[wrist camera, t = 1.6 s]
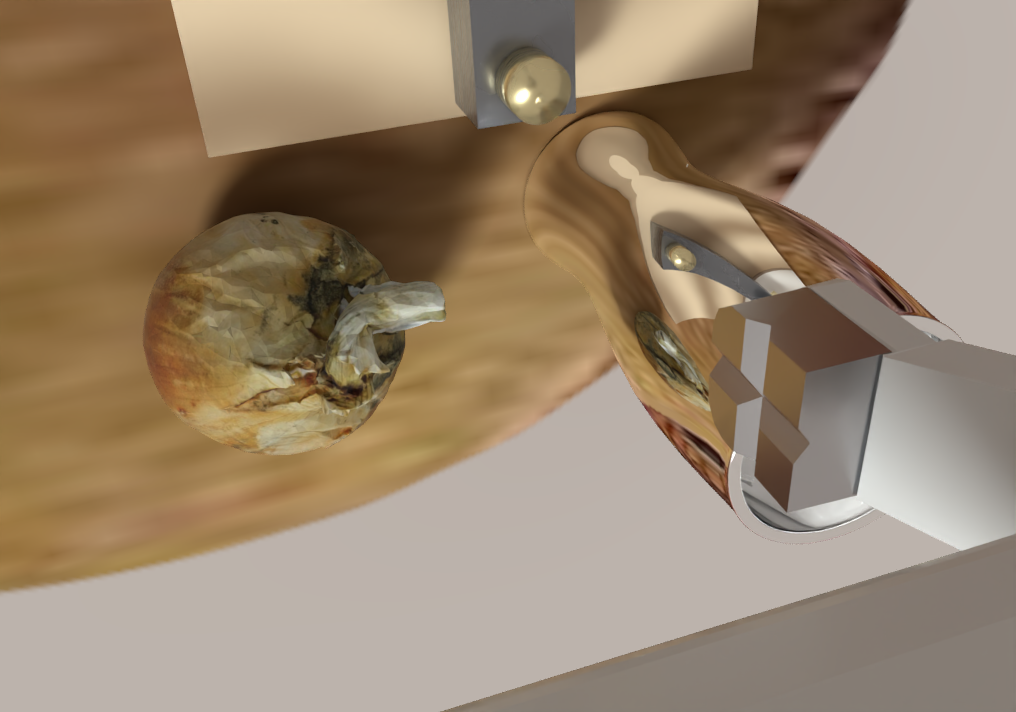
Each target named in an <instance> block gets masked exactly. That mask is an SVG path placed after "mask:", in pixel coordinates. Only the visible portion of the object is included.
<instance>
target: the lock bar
mask: <svg viewBox="0 0 1016 712" xmlns="http://www.w3.org/2000/svg"><path fill="white" fill-rule="evenodd" d="M447 6H448V18H449V31H450V43H451V55H452V67H453V79H454V92H455V103H456V104H457V105H458V107H459V108H460V109H461V110H462V111H463V112H464V113H465V115H466V116H467V117H468V118H469V119H470V120H471V121H472V123H473V124H474V125H475V126H476V127H477V128H478V129H481V128H487V127H493V126H499V125H505V124H511V123H517V122H523V121H524V122H526V123H528V124H533V125H540V124H545V123H548V122H550V121H552V120H554V119H555V118H557V117H558V116H559V115H565V114H571V113H576V78H575V0H447Z"/></svg>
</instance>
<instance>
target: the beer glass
mask: <svg viewBox="0 0 1016 712" xmlns="http://www.w3.org/2000/svg"><path fill="white" fill-rule="evenodd" d="M524 215H525V220H526V225H527V228H528V231H529V234H530V236H531V238H532V240H533V242H534V243H535V245H536V246H537V248H538V249H539V250H540V251H541V252H542V253H543V254H544V255H545V256H546V257H547V258H548V259H550V260H551V261H552V262H554V263H555V264H557V265H558V266H560V267H561V268H563V269H565V270H566V271H568V272H569V273H571V274H572V275H574V276H575V277H576V278H577V279H578V280H579V281H580V282H581V283H582V285H583V286H584V288H585V289H586V291H587V292H588V295H589V297H590V299H591V301H592V303H593V305H594V307H595V310H596V312H597V315H598V317H599V320H600V322H601V324H602V327H603V329H604V332H605V334H606V336H607V338H608V341H609V343H610V345H611V348H612V350H613V352H614V355H615V357H616V359H617V361H618V363H619V365H620V367H621V369H622V371H623V372H624V374H625V376H626V378H627V380H628V382H629V384H630V386H631V388H632V390H633V391H634V393H635V395H636V396H637V397H638V399H639V400H640V402H641V403H642V405H643V406H644V408H645V409H646V411H647V412H648V413H649V415H650V416H651V418H652V419H653V421H654V422H655V424H656V425H657V426H658V427H659V429H660V430H661V431H662V432H663V434H664V435H665V436H666V437H667V438H668V440H669V441H670V442H671V443H672V445H673V446H674V447H675V448H676V449H677V451H678V452H679V453H680V454H681V455H682V456H683V458H684V459H685V460H686V461H687V462H688V463H689V464H690V465H691V466H692V467H693V468H694V470H695V471H696V472H698V474H699V475H700V476H701V477H702V478H703V479H704V480H705V481H706V482H707V483H708V484H709V486H710V487H711V488H712V489H713V490H715V492H716V493H717V494H718V495H719V496H720V497H721V498H722V499H723V500H724V501H725V502H726V503H727V504H728V505H729V506H730V507H731V509H732V510H733V511H734V512H735V513H736V515H737V517H738V518H739V519H740V521H741V522H742V523H743V524H744V525H745V526H746V527H747V528H748V529H750V530H751V531H752V532H754V533H755V534H757V535H759V536H761V537H763V538H765V539H768V540H771V541H775V542H780V543H787V544H808V543H816V542H821V541H826V540H830V539H833V538H837V537H840V536H843V535H845V534H848V533H851V532H853V531H855V530H857V529H860V528H862V527H864V526H866V525H868V524H870V523H871V522H873V521H875V520H877V519H878V518H880V517H881V516H883V515H885V513H883V512H881V511H879V510H877V509H875V508H873V507H871V506H869V505H867V504H865V503H863V502H861V501H859V500H857V499H856V497H857V496H853V497H849V498H845V499H841V500H837V501H833V502H829V503H825V504H821V505H817V506H813V507H809V508H805V509H801V510H797V511H793V512H789V513H786V511H785V510H784V509H783V508H782V507H781V506H780V505H779V503H778V502H777V501H776V500H775V499H774V498H773V497H772V496H771V494H770V493H769V492H768V491H767V490H766V489H765V488H764V487H763V485H762V484H761V483H760V482H759V481H758V480H757V479H756V477H755V476H754V473H755V463H756V460H753V459H750V458H748V457H745V456H743V455H740V454H737V453H735V452H733V451H732V450H731V449H730V447H729V446H728V445H727V444H726V443H725V441H724V440H723V439H722V437H721V436H720V434H719V432H718V430H717V428H716V426H715V424H714V421H713V417H712V413H711V409H710V405H709V401H708V396H709V375H710V373H711V372H712V370H713V369H714V367H715V366H716V364H717V363H718V361H719V360H720V359H721V357H722V356H723V355H722V354H721V353H720V351H719V350H718V349H717V348H716V347H715V345H714V344H713V343H712V331H713V322H714V319H715V317H716V314H717V312H718V309H719V308H723V307H727V306H731V305H735V304H739V303H743V302H748V301H752V300H756V299H760V298H764V297H768V296H772V295H776V294H780V293H784V292H788V291H793V290H797V289H799V288H802V287H806V286H810V285H814V284H817V283H821V282H825V281H829V280H833V279H837V278H839V279H844V280H850V281H851V282H853V283H854V284H856V285H857V286H858V287H860V288H861V289H863V290H864V291H866V292H867V293H868V294H870V295H871V296H873V297H874V298H875V299H877V300H878V301H880V302H881V303H882V304H884V305H885V306H887V307H888V308H889V309H891V310H892V311H894V312H895V313H897V314H898V315H899V316H901V317H902V318H904V319H905V320H906V321H908V322H909V323H911V324H912V325H913V326H915V327H916V328H918V329H919V330H920V331H922V332H923V333H925V334H926V335H928V336H929V337H930V338H932V339H933V340H935V341H936V342H939V341H943V340H947V339H950V340H954V341H958V342H962V343H964V342H963V341H962V339H961V338H960V337H959V336H958V334H956V332H955V331H953V330H952V329H951V328H950V327H948V326H947V325H945V324H943V323H942V322H940V321H939V320H938V319H937V318H935V316H933V315H932V314H931V313H930V312H929V311H928V310H927V309H926V308H924V307H923V306H922V305H921V304H920V303H919V302H918V301H917V300H916V299H915V298H914V297H913V296H912V295H910V294H909V293H908V292H907V291H906V290H905V289H904V288H903V287H901V286H900V285H899V284H898V283H897V282H896V281H895V280H894V279H892V278H891V277H890V276H889V275H888V274H887V273H885V272H884V271H883V270H882V269H881V268H880V267H878V266H877V265H876V264H875V263H873V262H872V261H871V260H870V259H868V258H867V257H866V256H864V255H863V254H862V253H861V252H859V251H858V250H857V249H855V248H854V247H853V246H852V245H850V244H849V243H848V242H846V241H845V240H843V239H842V238H840V237H838V236H837V235H835V234H834V233H832V232H831V231H829V230H828V229H826V228H824V227H823V226H821V225H820V224H818V223H817V222H815V221H814V220H812V219H810V218H808V217H806V216H804V215H802V214H800V213H798V212H796V211H794V210H792V209H790V208H788V207H786V206H783V205H781V204H779V203H777V202H775V201H773V200H770V199H768V198H765V197H763V196H760V195H758V194H755V193H752V192H750V191H747V190H745V189H742V188H739V187H737V186H734V185H731V184H729V183H726V182H723V181H720V180H718V179H716V178H713V177H711V176H709V175H706V174H704V173H702V172H700V171H699V170H697V169H696V168H694V167H693V166H692V165H691V164H690V163H689V161H688V160H687V158H686V157H685V155H684V154H683V152H682V151H681V149H680V148H679V147H678V145H677V144H676V142H675V141H674V140H673V138H672V137H671V136H670V135H669V134H668V133H667V132H666V131H665V130H664V129H663V128H662V127H661V126H660V125H659V124H657V123H656V122H655V121H653V120H651V119H649V118H648V117H645V116H643V115H640V114H637V113H633V112H628V111H607V112H601V113H597V114H593V115H590V116H587V117H585V118H582V119H580V120H578V121H576V122H575V123H573V124H571V125H570V126H568V127H567V128H565V129H564V130H563V131H561V132H560V133H559V134H558V135H557V136H556V137H555V138H553V140H552V141H551V142H550V143H549V144H548V145H547V146H546V147H545V149H544V150H543V151H542V153H541V154H540V156H539V157H538V159H537V160H536V162H535V164H534V166H533V168H532V170H531V173H530V175H529V178H528V181H527V185H526V189H525V196H524Z"/></svg>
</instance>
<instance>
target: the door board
mask: <svg viewBox="0 0 1016 712" xmlns="http://www.w3.org/2000/svg"><path fill="white" fill-rule="evenodd" d="M171 2H172V6H173V10H174V15H175V19H176V23H177V27H178V31H179V36H180V40H181V44H182V48H183V52H184V57H185V61H186V65H187V69H188V74H189V78H190V82H191V86H192V90H193V95H194V99H195V103H196V107H197V111H198V116H199V120H200V124H201V128H202V132H203V137H204V141H205V145H206V149H207V153H208V158H209V157H215V156H221V155H227V154H234V153H240V152H246V151H252V150H258V149H264V148H271V147H277V146H283V145H289V144H295V143H301V142H307V141H314V140H320V139H326V138H332V137H338V136H344V135H351V134H357V133H363V132H369V131H375V130H381V129H387V128H394V127H400V126H406V125H412V124H418V123H424V122H431V121H437V120H443V119H449V118H455V117H461V116H466V115H465V113H464V112H463V111H462V110H461V109H460V108H459V107H458V105H457V104H456V103H455V92H454V79H453V67H452V55H451V43H450V31H449V18H448V6H447V0H171ZM757 10H758V0H575V78H576V98H578V97H584V96H591V95H597V94H603V93H609V92H615V91H621V90H627V89H634V88H640V87H646V86H652V85H658V84H664V83H671V82H677V81H683V80H689V79H695V78H701V77H707V76H714V75H720V74H726V73H732V72H738V71H744V70H751V69H752V63H753V52H754V41H755V31H756V20H757Z"/></svg>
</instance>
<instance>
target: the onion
mask: <svg viewBox="0 0 1016 712" xmlns="http://www.w3.org/2000/svg"><path fill="white" fill-rule="evenodd" d="M445 319H446V312H445V299H444V296H443V293H442V290H441V288H440V287H438V286H437V285H436V284H435V283H433V282H426V281H415V282H411V283H405V284H404V283H399V282H394V281H391V280H390V279H389V277H388V275H387V273H386V272H385V270H384V268H383V265H382V264H381V263H380V262H379V261H378V260H377V259H376V258H375V257H374V256H373V255H372V254H371V253H370V252H369V251H368V250H367V249H366V248H365V247H364V246H362V245H361V244H360V243H359V242H358V241H357V240H356V239H355V236H354V235H352V234H350V233H348V232H347V231H346V230H344V229H342V228H339V227H337V226H334V225H332V224H329V223H326V222H323V221H321V220H318V219H316V218H312V217H306V216H296V215H290V214H286V213H282V212H262V213H251V214H244V215H239V216H236V217H233V218H230V219H228V220H226V221H223V222H221V223H219V224H217V225H215V226H213V227H212V228H210V229H208V230H206V231H204V232H203V233H201V234H200V235H198V236H197V237H195V238H194V239H193V240H191V241H190V242H189V243H188V244H187V245H186V246H184V247H183V248H182V249H181V250H180V251H179V252H178V253H177V254H176V255H175V256H174V257H173V258H172V259H171V261H170V262H169V263H168V264H167V266H166V267H165V268H164V269H163V271H162V272H161V273H160V275H159V276H158V278H157V280H156V282H155V284H154V287H153V289H152V292H151V294H150V297H149V301H148V305H147V309H146V312H145V319H144V328H143V346H144V351H145V355H146V359H147V364H148V367H149V370H150V373H151V376H152V378H153V380H154V383H155V385H156V387H157V389H158V392H159V394H160V395H161V397H162V399H163V400H164V402H165V404H166V405H167V406H168V407H169V408H170V409H171V411H172V412H173V413H174V414H175V415H176V416H177V417H178V418H179V419H180V420H181V421H182V422H183V423H184V424H186V425H188V426H189V427H191V428H193V429H195V430H197V431H199V432H201V433H203V434H204V435H206V436H208V437H210V438H212V439H214V440H215V441H218V442H220V443H222V444H224V445H228V446H231V447H234V448H237V449H240V450H242V451H244V452H250V453H257V454H266V455H293V454H296V453H301V452H306V451H311V450H314V449H317V448H326V449H327V448H328V447H330V446H332V445H333V444H335V443H337V442H339V441H340V440H342V439H344V438H345V437H347V436H349V435H350V434H351V433H353V432H354V431H355V430H356V429H358V428H359V427H360V426H362V425H363V424H364V423H365V422H366V421H367V420H368V419H369V418H370V416H371V415H372V414H373V413H374V411H375V410H376V408H377V406H378V405H379V403H380V402H381V401H382V400H383V399H384V397H385V396H386V394H387V392H388V389H389V386H390V384H391V382H392V381H393V379H394V376H395V374H396V371H397V368H398V366H399V364H400V362H401V359H402V357H403V353H404V349H405V330H406V329H410V328H413V327H416V326H419V325H422V324H425V323H428V322H442V321H444V320H445Z"/></svg>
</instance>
